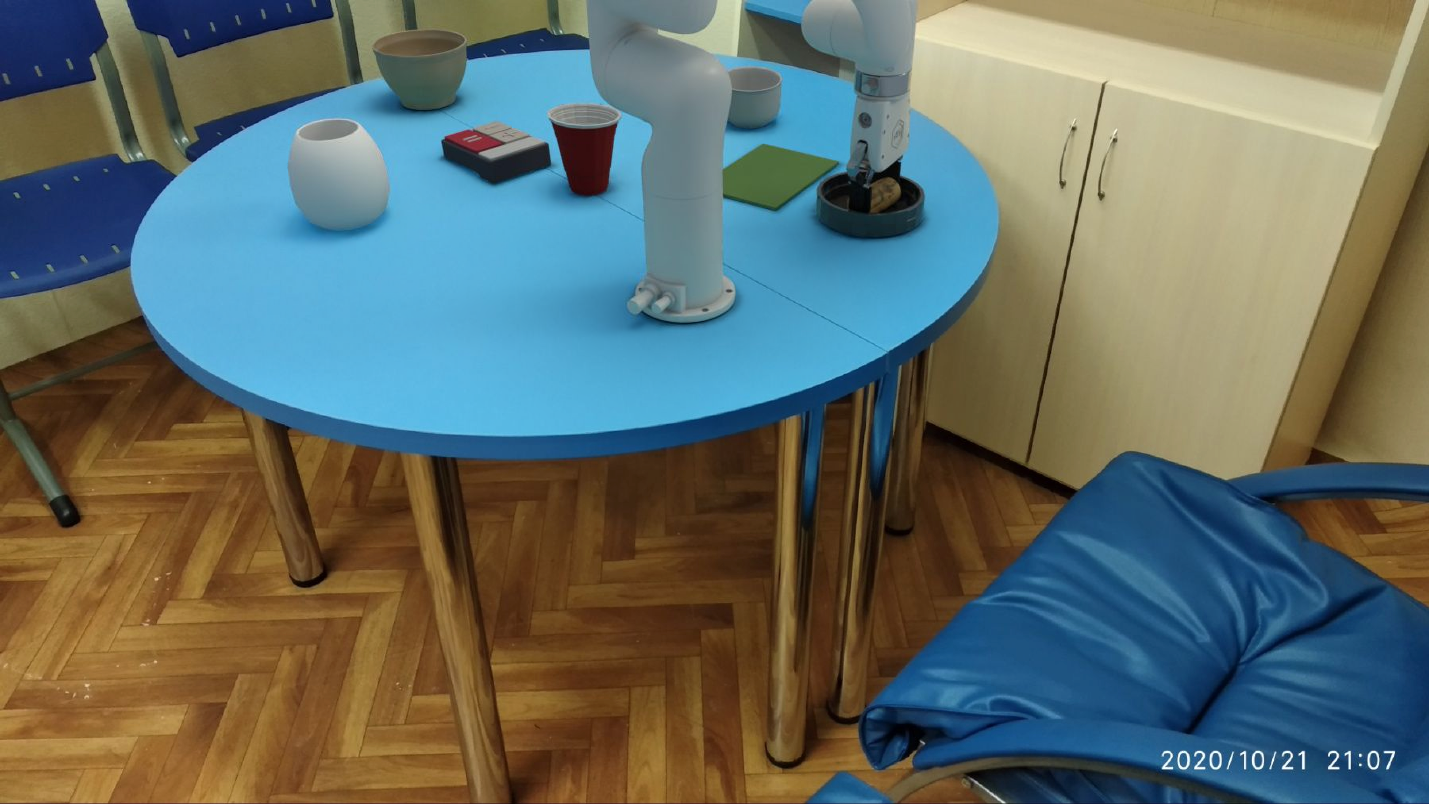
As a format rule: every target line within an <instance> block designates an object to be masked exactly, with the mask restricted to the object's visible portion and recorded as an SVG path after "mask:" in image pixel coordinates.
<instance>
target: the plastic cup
mask: <svg viewBox="0 0 1429 804" xmlns="http://www.w3.org/2000/svg"><path fill="white" fill-rule="evenodd" d="M546 114H547V118H548V121H550V123H551V127H552V129H553V133H554V136H555V138H556V142H557V146H558V150H559V154H560V158H561V162H562V166H563V171H564V172H565V176H566V179H567V183H568V187H569V189H570V191H571V193H573V194H574V195H578V196H583V197H591V196H598V195H601V194H603V193H605V192H607V190H608V188H609V185H610V176H611V168H612V162H613V153H614V146H615V137H616V132H617V128H618V125H619V121H620V120H621V119H622V117H623V116H622V114H621V111H620V110H618V109H616V108H614V107H612V106H610V105H604V104H601V103H590V102H580V103H579V102H578V103H577V102H576V103H573V102H572V103H567V104H560V105H557V106H554V107H551V108H550V109H549V110H548V111H547V112H546Z"/></svg>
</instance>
